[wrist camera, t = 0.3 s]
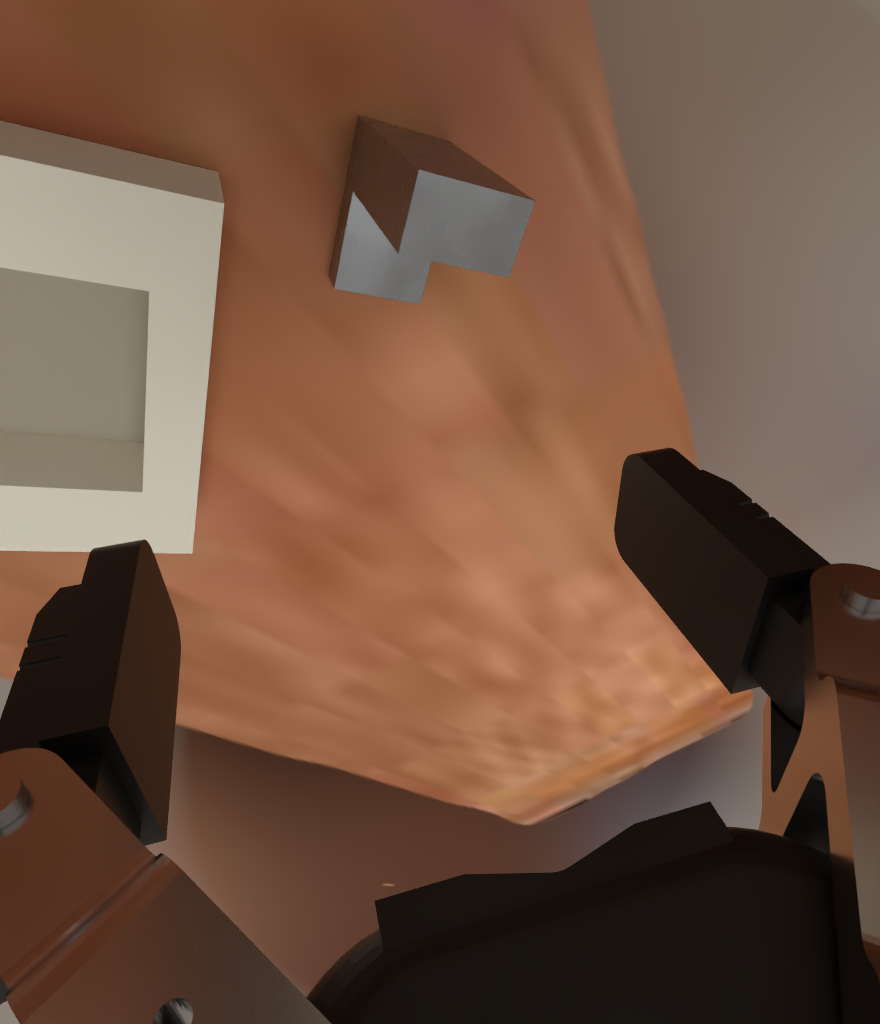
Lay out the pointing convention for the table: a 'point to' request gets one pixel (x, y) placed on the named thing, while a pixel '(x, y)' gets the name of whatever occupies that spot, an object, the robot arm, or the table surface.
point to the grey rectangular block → (420, 214)
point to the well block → (102, 342)
